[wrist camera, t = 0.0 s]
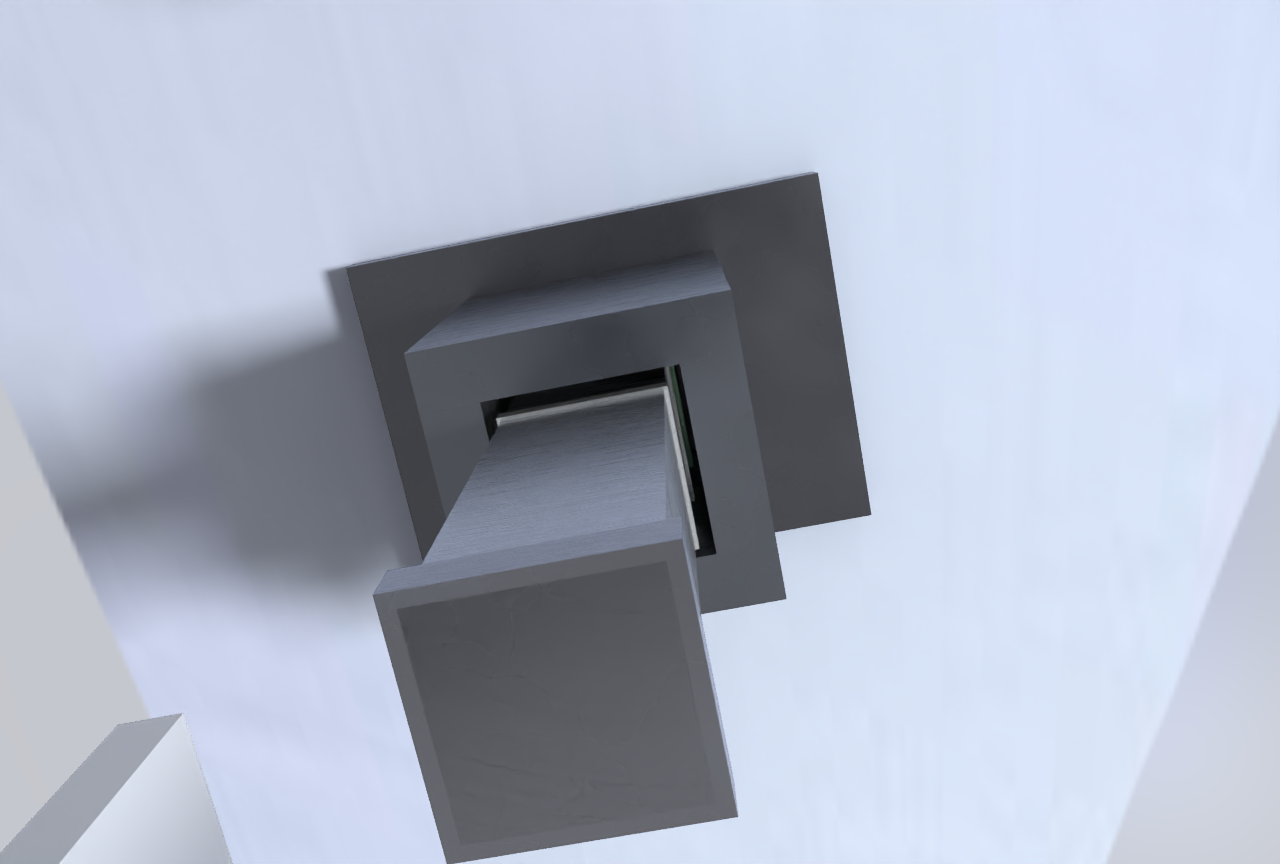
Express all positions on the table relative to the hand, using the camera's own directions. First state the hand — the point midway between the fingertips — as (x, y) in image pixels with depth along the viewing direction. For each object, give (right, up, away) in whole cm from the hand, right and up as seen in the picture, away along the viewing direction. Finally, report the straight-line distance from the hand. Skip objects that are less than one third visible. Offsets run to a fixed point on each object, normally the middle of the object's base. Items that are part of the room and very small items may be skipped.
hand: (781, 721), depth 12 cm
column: (-2, +4, +27) cm, 27 cm away
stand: (-2, +5, +28) cm, 28 cm away
